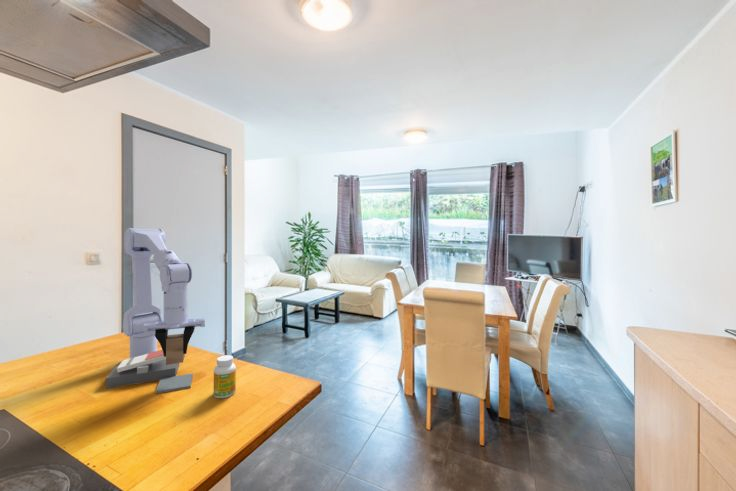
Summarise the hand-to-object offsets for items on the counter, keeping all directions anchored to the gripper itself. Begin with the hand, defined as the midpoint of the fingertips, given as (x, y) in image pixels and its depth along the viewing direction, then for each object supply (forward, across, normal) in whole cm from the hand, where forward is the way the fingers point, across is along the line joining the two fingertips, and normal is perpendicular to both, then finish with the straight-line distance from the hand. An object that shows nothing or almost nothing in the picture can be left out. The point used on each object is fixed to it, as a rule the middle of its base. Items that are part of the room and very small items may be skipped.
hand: (175, 354), depth 85 cm
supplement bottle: (+9, +12, -11) cm, 19 cm away
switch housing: (+9, -8, +9) cm, 15 cm away
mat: (+9, 0, 0) cm, 9 cm away
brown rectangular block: (+2, 0, 0) cm, 2 cm away
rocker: (+4, -8, +9) cm, 13 cm away
